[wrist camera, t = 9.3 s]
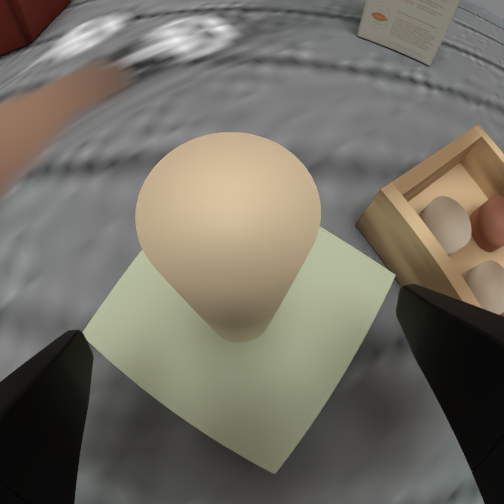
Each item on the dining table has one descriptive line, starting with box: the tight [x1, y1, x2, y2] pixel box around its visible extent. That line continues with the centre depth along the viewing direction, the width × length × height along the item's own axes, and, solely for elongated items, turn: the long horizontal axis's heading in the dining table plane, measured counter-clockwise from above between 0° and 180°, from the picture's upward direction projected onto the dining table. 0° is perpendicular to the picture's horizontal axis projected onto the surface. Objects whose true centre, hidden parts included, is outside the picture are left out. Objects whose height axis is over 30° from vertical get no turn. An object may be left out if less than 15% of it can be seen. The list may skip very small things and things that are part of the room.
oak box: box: [355, 125, 504, 316], centre depth 15 cm, size 11×11×4 cm
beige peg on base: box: [83, 132, 396, 474], centre depth 10 cm, size 11×11×11 cm
